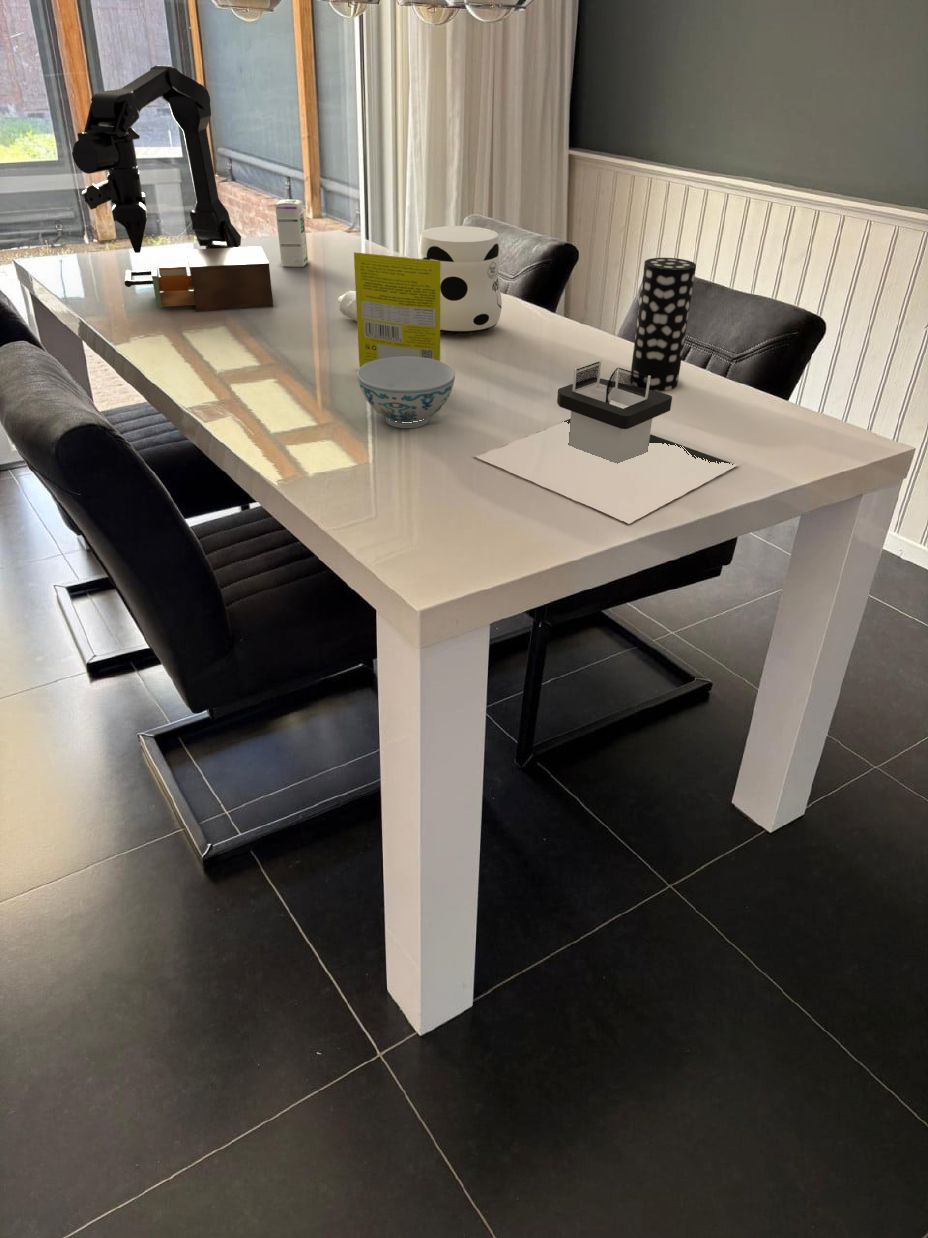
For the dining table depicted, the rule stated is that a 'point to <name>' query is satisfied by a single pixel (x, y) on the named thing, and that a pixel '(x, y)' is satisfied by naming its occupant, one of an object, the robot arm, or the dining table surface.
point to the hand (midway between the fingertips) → (137, 249)
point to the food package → (397, 307)
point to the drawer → (161, 297)
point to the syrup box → (291, 233)
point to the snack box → (173, 277)
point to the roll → (348, 305)
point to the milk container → (465, 276)
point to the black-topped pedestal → (615, 415)
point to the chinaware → (406, 388)
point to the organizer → (230, 278)
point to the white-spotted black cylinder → (662, 321)
